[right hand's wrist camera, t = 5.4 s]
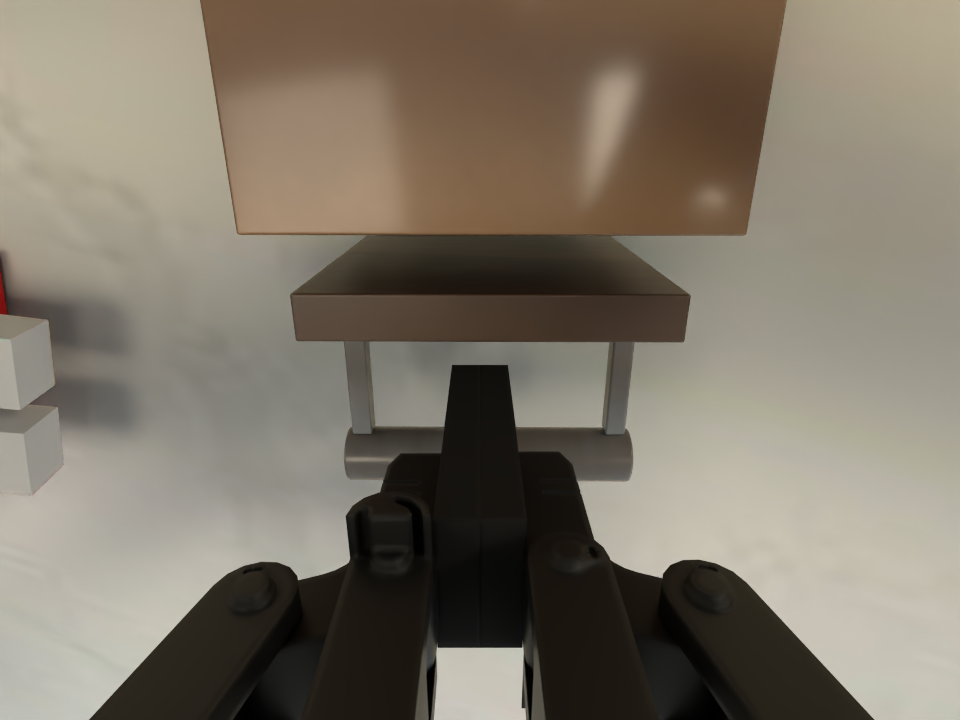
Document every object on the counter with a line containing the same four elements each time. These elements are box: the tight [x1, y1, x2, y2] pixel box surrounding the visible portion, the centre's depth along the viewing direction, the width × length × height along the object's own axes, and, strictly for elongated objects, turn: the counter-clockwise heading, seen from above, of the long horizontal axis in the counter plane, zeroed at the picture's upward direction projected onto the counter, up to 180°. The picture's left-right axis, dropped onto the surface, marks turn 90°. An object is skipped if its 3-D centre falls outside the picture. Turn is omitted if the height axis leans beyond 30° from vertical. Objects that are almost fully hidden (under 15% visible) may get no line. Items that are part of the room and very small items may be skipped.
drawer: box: [290, 236, 691, 481], centre depth 16 cm, size 21×9×9 cm, turn 0°
